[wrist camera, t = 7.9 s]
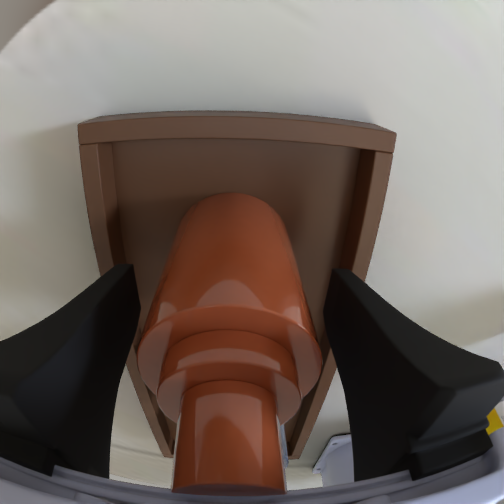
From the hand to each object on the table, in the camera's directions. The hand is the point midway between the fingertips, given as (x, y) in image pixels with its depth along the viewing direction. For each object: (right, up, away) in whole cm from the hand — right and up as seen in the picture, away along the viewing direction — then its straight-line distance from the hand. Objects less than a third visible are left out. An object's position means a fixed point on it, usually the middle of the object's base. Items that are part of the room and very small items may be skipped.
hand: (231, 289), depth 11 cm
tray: (0, -4, +7) cm, 8 cm away
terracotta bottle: (0, +2, +3) cm, 3 cm away
